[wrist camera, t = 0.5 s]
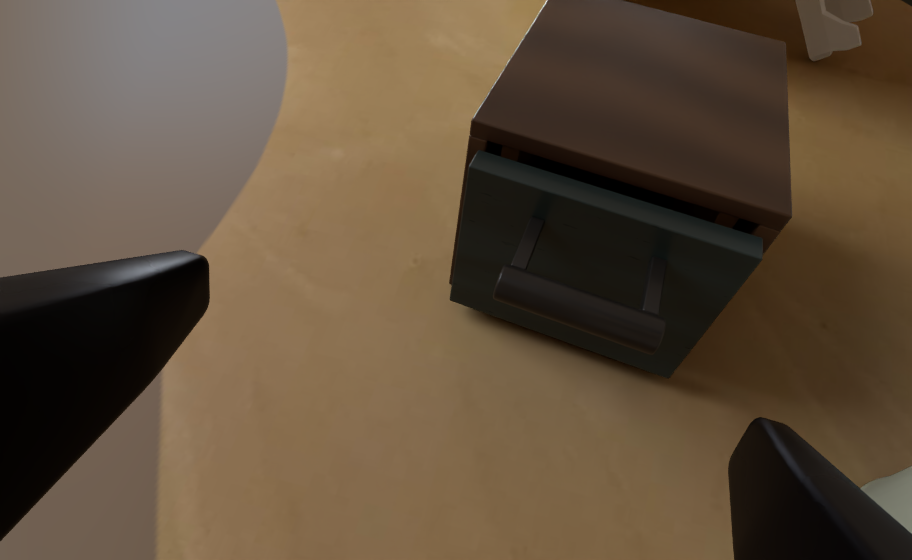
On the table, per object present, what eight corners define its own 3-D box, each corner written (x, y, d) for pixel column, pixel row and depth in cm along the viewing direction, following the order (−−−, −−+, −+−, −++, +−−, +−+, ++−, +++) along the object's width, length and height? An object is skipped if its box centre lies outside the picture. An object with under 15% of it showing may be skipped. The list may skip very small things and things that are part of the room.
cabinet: (677, 365, 29) (793, 216, 20) (448, 284, 31) (471, 119, 22) (699, 192, 38) (786, 41, 29) (522, 138, 40) (557, -18, 31)
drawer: (657, 459, 24) (762, 352, 18) (416, 367, 26) (426, 237, 19) (693, 205, 35) (765, 79, 29) (521, 152, 37) (551, 22, 30)
